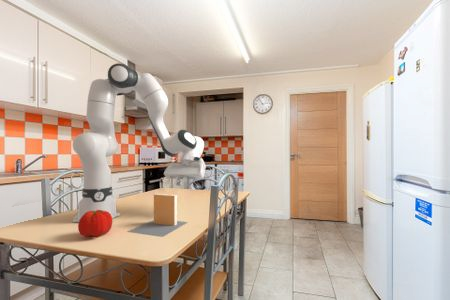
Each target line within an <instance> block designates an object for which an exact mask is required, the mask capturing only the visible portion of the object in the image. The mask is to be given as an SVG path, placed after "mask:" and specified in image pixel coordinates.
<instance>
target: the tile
mask: <svg viewBox="0 0 450 300" xmlns="http://www.w3.org/2000/svg"><path fill="white" fill-rule="evenodd" d="M153 220H154V223H156V224H164V225H173V226H175V225H177V221H178V195H177V194H167V193H166V194H165V193H154V194H153Z"/></svg>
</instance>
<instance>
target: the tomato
mask: <svg viewBox="0 0 450 300" xmlns="http://www.w3.org/2000/svg"><path fill="white" fill-rule="evenodd" d="M112 227H113V218H112V216H111V214H110V213H109V212H107V211H102V210H96V211H88V212H86V213H85V214H84V215H83V216H82V217H81V219H80V220H79V222H78V225H77V228H78V229H77V230H78V232H79V234H80V235H81V236H83V237H84V238H91V237H94V238H95V237H96V238H98V237H100V236H103V235H106V234H107V233H108V232H110V230H111V229H112Z"/></svg>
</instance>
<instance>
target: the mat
mask: <svg viewBox="0 0 450 300" xmlns="http://www.w3.org/2000/svg"><path fill="white" fill-rule="evenodd" d="M187 223H189V222H188V221H181V220H180V221H179V220H177V225H175V226H173V225H164V224H156V223H154V219H153V220H150V221H148V222H146V223H144V224H142V225H139V226H136V227H135V228H132V229H129V230H128V231H126V232H127V233H132V234H140V235H147V236H154V237H160V238H163V237H166V236H167V235H168V234H170V233H172V232H174V231H175V230H178V229H180V227H182V226H184V225H186V224H187Z"/></svg>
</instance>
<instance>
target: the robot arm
mask: <svg viewBox="0 0 450 300" xmlns="http://www.w3.org/2000/svg"><path fill="white" fill-rule="evenodd" d="M133 92H136V93H137V94H138V96H139V97H140V98H141V100H142V101H143V103H144V105H145V107H146V110H147V115H148V120H149V122H150V124H151V126H152V129H153V130H154V132H155V134H156V137H157V138H158V140H159V143H160V146H161V150H162V151H163V153H164V154H165V155H167V156H169V157H176V156H177V155H179V154H180V153H182V156H181V158H180V159H179V162H171V163H170V164H168V166H167V167H166V168H165V170H164V172H163V175H164V177H165V179H166V180H167V179H170V180H175V182H174V183H175V186H177V187H179V186H180V187H181V186H182V187H183V185H184V184H185V183H186V182H187V181H188V180H198V181H200V180H202V179H204V178H205V175H206V168H207V165H206V162H205V161H204V159H203V158H202V154H203V152H204V148H205V142H204V140H203V138H201V137H200V136H195V135H193V133H191V132H190V131H188V130H187V129H180V130H178V131H176V132H175V133H174V134H172V135H170V133H169V131H168V129H167V127H166V125H165V123H164V115H165V113H166V111H167V109H168V106H169V99H168V96H167V93H166V92H165V90H164V89H163V88H162V86H161V84H160V83H159V82H158V80H157V79H156V78H155V77H154V76H153V75H152V74H151V73H148V72H141V73H140V74H139V73H138V72H137V71H136V70H134V69H132V68H131V67H130V66H128V65H126V64H123V63H119V62H117V63H113V64H112V65H111V66H110V67H109V68H108V70H107V78H106V79H104V78H97V79H95V80H93V81H91V83H90V87H89V91H88V94H87V95H88V96H87V102H86V103H87V104H86V115H85V119H86V121H87V123H88V125H89V129H90V132H89V131H88V132H83V133H80V134H78V135H76V136H75V137H74V139H73V141H72V148H73V149H72V150H73V151H74V152H75V153H76V154H77V156H78V158H79V160H80V164H81V167H82V174H83V188H82V191H81V194H82V195H81V197H82V198H81V199H80V201H79V202H78V203H77V205H76V210H77V212H76V215H75V216H74V218H73V219H72V223H79V220H80V219H81V217H82V216H83V215H84V214H85V213H86V212H88V211H96V210H102V211H107V212H109V213H110V214H111V216H112V219H114V218H116V217H119V216H121V213H120V212H118V211H117V205H116V203H117V201H116V198H115V197H113V187H112V169H111V168H110V167H109V164H108V161H107V158H108V157H110V156H112V155H114V154H116V153H117V152H118V150H119V143H118V140H117V139H116V131H115V126H114V125H115V124H114V119H115V118H114V117H115V106H116V104H115V103H116V96H118V97H119V96H124V95H125V96H126V95H130V94H132V93H133Z"/></svg>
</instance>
